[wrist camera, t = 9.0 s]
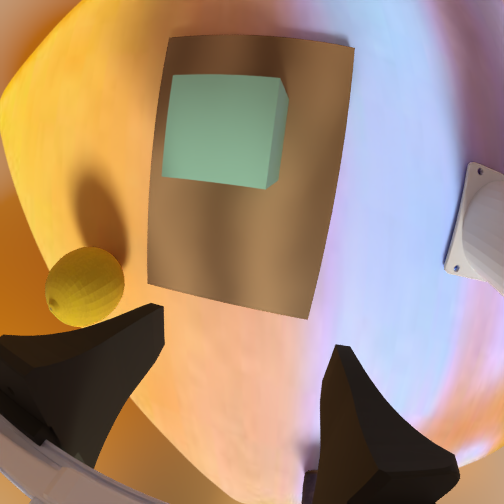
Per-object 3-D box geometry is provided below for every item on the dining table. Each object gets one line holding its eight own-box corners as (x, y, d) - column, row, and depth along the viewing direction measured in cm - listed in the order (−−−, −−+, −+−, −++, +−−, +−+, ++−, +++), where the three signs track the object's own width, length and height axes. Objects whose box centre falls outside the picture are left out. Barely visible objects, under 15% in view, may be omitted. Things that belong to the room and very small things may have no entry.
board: (352, 54, 15) (354, 48, 14) (308, 311, 21) (307, 319, 20) (176, 42, 16) (169, 37, 15) (155, 277, 23) (147, 283, 21)
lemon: (97, 224, 22) (27, 254, 15) (149, 255, 22) (84, 300, 15) (87, 276, 24) (27, 315, 17) (134, 307, 24) (78, 359, 17)
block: (289, 99, 16) (280, 78, 11) (278, 180, 17) (265, 189, 13) (208, 93, 16) (173, 75, 12) (199, 170, 18) (161, 176, 13)
